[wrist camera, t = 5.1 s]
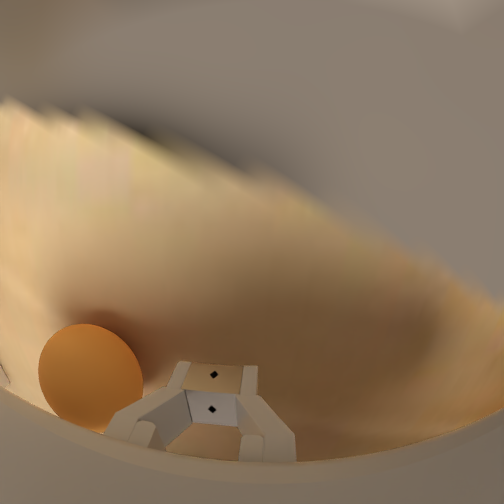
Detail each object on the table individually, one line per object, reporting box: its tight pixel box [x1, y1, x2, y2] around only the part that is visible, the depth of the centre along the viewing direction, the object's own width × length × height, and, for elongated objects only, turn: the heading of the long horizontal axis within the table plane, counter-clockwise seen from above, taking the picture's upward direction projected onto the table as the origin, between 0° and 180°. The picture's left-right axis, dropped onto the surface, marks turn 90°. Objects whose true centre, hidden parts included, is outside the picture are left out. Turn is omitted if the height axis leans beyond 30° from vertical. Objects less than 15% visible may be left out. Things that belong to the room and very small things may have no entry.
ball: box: [38, 324, 143, 433], centre depth 9 cm, size 5×5×5 cm
